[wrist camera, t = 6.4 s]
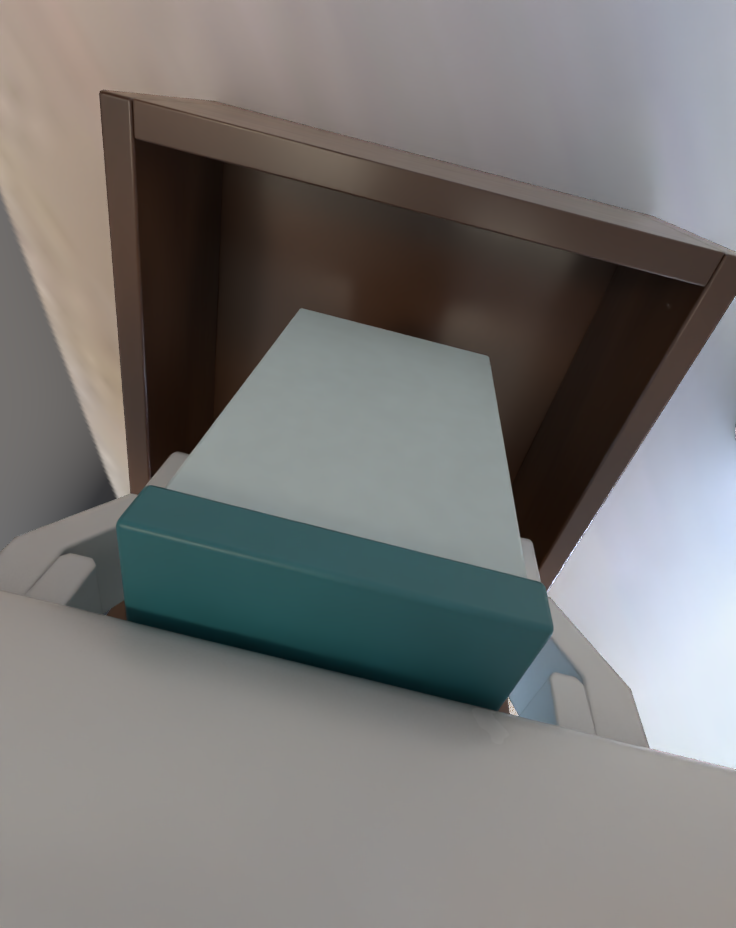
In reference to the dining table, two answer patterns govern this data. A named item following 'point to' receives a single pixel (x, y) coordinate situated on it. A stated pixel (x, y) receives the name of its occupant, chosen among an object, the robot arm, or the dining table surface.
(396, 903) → the robot arm
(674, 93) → the dining table surface
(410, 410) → the white teal-lidded container
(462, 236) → the chest
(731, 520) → the dining table surface
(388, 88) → the dining table surface
